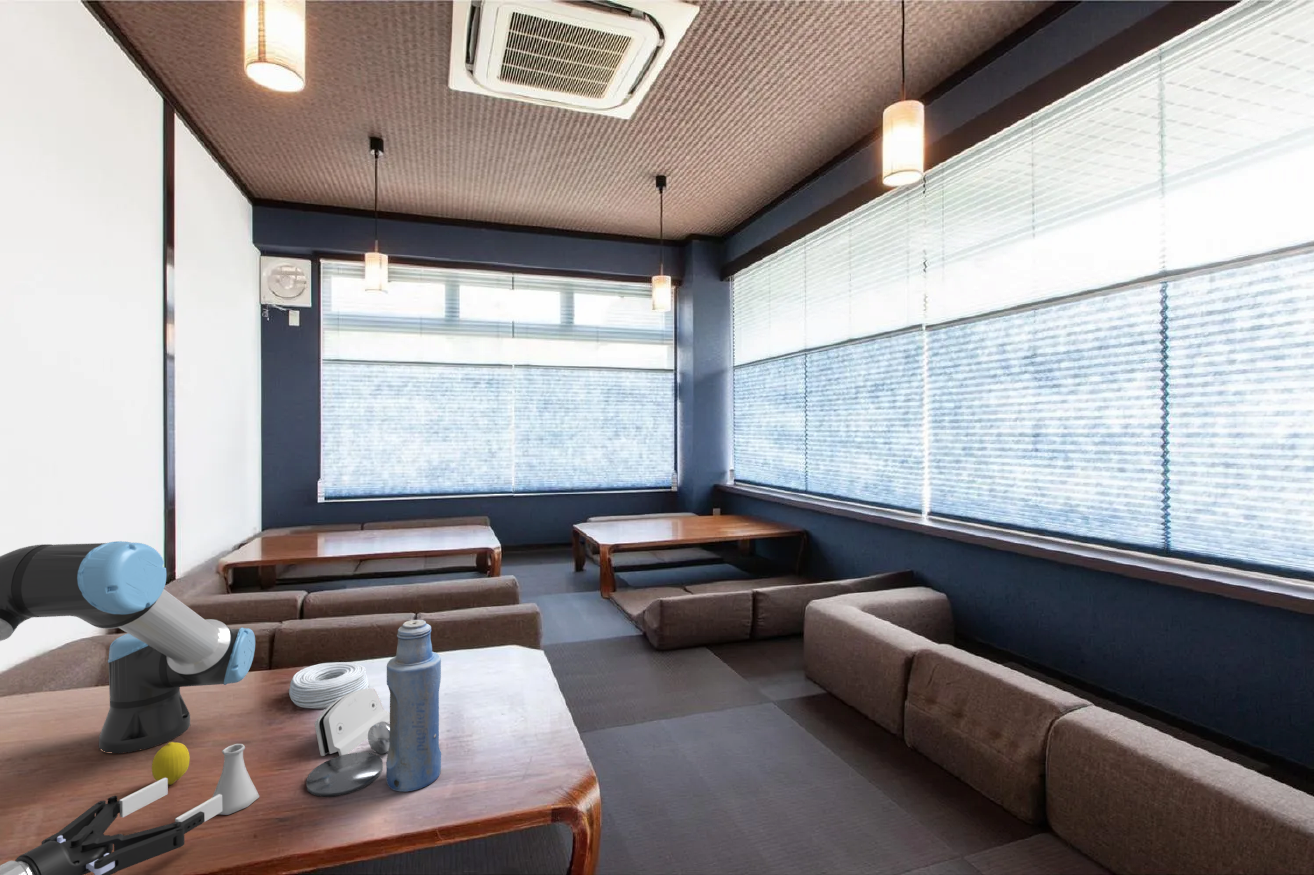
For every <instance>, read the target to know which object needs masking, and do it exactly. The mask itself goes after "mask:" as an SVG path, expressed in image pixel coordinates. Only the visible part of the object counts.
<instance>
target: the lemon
mask: <svg viewBox="0 0 1314 875" xmlns="http://www.w3.org/2000/svg"><path fill="white" fill-rule="evenodd" d="M190 759H191V758H190V752H189V749H188V747H187V746H186V745H185V744H183V743H181V742H174V741H168V743H167V744H165V745H164V746H162V747H161V748H160V749H159V750H157V751H156V754H155V755H154V757H153V760H152V763H151V772H152V776H153V777H152V778H153V779H154V780H155V782H157V781H159V780H161V779H163V778H168V786H171V785H173V784H175V782H176V781H177V780H179V779H181V778H182V777H183V776H184V775H185V773H186V772H187V771H188V768H189V766H190Z"/></svg>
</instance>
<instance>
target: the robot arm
mask: <svg viewBox="0 0 1314 875" xmlns="http://www.w3.org/2000/svg"><path fill="white" fill-rule="evenodd" d="M164 564H165V561H164V558H163V557H162V555H161V554H160V553H159V551H157V549H155V548H154V547H152V546H150V545H148V544H146V543H142V542H131V541H122V540H119V541H110V542H99V543H96V542H95V543H63V544H61V543H60V544H56V543H55V544H48V543H47V544H43V543H42V544H35V545H28V546H25V547H20V548H17V549H15V550H11V551H9V552H7V553H4V554H3V555H0V642H2V641H4V640H8V639H9V638H10V637H11V636H12V635H13V633H14V632H15V631H16V629H17V628H18V627H19V625H21V624H22V623H24V622H25V621H27V620H29V619H32V618H50V617H51V618H52V617H56V618H57V617H76V618H79V619H80V620H83V621H84V622H86V623H88V624H90V625H92V626H94V627H96V628H99V629H106V630H110V629H119V630H122V631H124V633H126V634H123V635H121V636H118V637H117V638H115V639H114V640H113V641H112V642H111V644H110V645H109V651H108V652H109V653H108V660H107V663H108V684H109V685H108V686H109V687H108V689H109V710H108V713H107V716H106V717H105V720H104V723H103V725H102V728H101V730H100V731H101V732H100V734H99V735H98V736H99V737H98V749H99V748H100V749H102V750H103V751H105V752H112V753H118V754H126V752H128V753H133V752H132V751H134V752H137V751H136V750H139V751H141V750H140V749H143V750H147V749H150V748H153V746H154V747H156V745H157V746H159V744H160V745H162V744H165V743H166V742H171V740H174V739H176V738H178V737H179V736H180V735H182V734H183V733H185V732H186V731H187V730H188V729H189V728H190V726H191V714H190V711H189V709H188V707H187V705H186V702H185V701H184V698H183V697H182V694H181V688H185V687H199V686H200V687H202V686H215V685H216V686H217V685H223V686H226V685H228V684H236V683H240V682H241V681H242V680H243V679H245V677H246V676H247V674H248V673H249V670H250V668H251V667H252V663H253V661H254V657H255V650H256V636H255V633H254V630H252V629H251V628H248V627H247V628H246V627H245V628H244V627H239V628H232V627H231V628H230V626H228V625H226V624H225V623H224V622H222V621H220V620H218V619H213V618H212V619H210V618H208V619H205V618H203V617H202V616H200V614H198V613H197V612H195V611H194V610H193V609H191V608H190V607H189V606H188V605H186V604H185V603H183V602H182V601H181V600H180V599H178V598H177V597H176V596H174V595H173V594H172V593H170V592H168V591H167V589H165V586H166V582H167V568H166V567H163V566H164ZM164 742H165V743H164ZM161 743H162V744H161ZM100 749H99V750H100ZM105 752H104V753H105ZM123 752H125V753H123ZM112 753H111V754H112ZM168 787H169V784H168V778H163V779H161V780H159V781H155V782H153V783H151V784H149V785H147V786H145V787H143V788H141V789H139V790H137V791H135V792H133V793H131V794H128V795H127V796H124V797H123V798H121V799H118V795H112V796H110V797H108V798H107V803H106V800H100V801H98V802H96V803H94V804H93V805H91V807H89V808H88V809H87V810H85V811H84V812H82V813H81V814H80V815H79V816H77V817H76V818H74V819H73V820H72V821H71V822H69V823H68V824H67V825H66V826H64V827H63V828H62V829H60V830H59V831H58V832H55V833H54V834H52V835H50V836H48V837H46V838H45V839H43V840H42V841H41V844H40V845H39V846H36V847H34V848H32V849H30V850H29V851H27V852H24V853H22V854H20V855H18V856H17V857H16V859H15V860H8V861H6V862H4V863H3V864H0V875H86V874H89V873H93V874H94V875H113V874H115V873H117V872H120V871H122V870H125V869H128V868H130V867H133V866H136V865H138V864H140V863H143V862H145V861H148V860H151V859H153V858H156V857H158V856H160V855H163V854H166V853H167V854H168V853H169V852H171V851H175V850H177V849H180V848H181V847H184V845H185V835H186V834H187V833H189V832H190V831H193V830H194V829H196V828H197V827H199V826H200V825H202V824H203V823H205V822H207V821H208V820H210V819H212V818H213V817H215V816H217V815H220V814H219V813H220V812H222V795H221V794H218V795H216V796H215V797H213V796H212V797H213V798H212V797H211V798H209V799H208V800H206V801H204V802H202V803H200V804H199V805H197V806H195V807H193V808H191V809H190V810H188V811H186V812H184V813H183V814H181V815H179V816H177V817H175V819H174V822H172V823H168V824H163V825H160V826H156V827H153V828H149V829H145V830H140V831H137V832H133V833H128V834H126V835H124V834H122V833H117V834H113V835H108V834H107V835H106V834H104V833H105V832H106V831H107V830H108V828H110V826H111V825H112V824H113V822H114V821H115V820H116V819H117V818H118V815H119V817H120V818H125V817H127V816H128V815H130V814H132V813H134V812H136V811H138V810H141V809H142V808H144V807H146V806H148V805H149V804H151V803H153V802H155V801H157V800H159V799H161V798H162V797H165V796H167V795H168V794H169V791H168V790H169V788H168Z"/></svg>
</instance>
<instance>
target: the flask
mask: <svg viewBox="0 0 1314 875" xmlns="http://www.w3.org/2000/svg"><path fill="white" fill-rule="evenodd" d="M245 749H246V747H245V745H244V744H243V743H235V744H231V745H229V746H226V747H225V748H224V749H222V750H221V753H222V754H223V758H224V760H223V767H222V771H221V774H220V776H219V778H218V782H217V785H216V788H215V789H214V792H213V794H212V797H211V798H213V797H215V796H216V795H218V794H221V795H222V812H220V813H219V814H218V815H222V816H223V815H226V816H227V815H231V814H233V813H236V812H239V811H241V810H243V809H246V808H248V807H249V806H251V805H252V803H254V802H255V801H256V800H258V799H259V798H260V795H259V793H258V790H257V788H256V786H255V785H254V783H253V781H252V779H251V777H250V774H249V772H248V771H247V770H248V769H247V768H246V764H245V760H244V751H245Z"/></svg>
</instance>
